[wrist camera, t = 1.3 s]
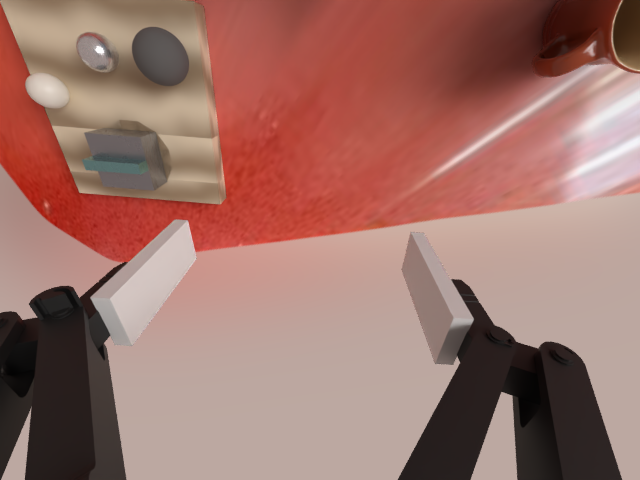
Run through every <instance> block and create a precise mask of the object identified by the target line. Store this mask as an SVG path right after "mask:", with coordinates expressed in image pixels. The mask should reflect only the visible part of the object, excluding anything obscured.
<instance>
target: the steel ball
mask: <svg viewBox="0 0 640 480" xmlns="http://www.w3.org/2000/svg"><path fill="white" fill-rule="evenodd" d="M76 50H77V53H78V55H79V57H80V58H81V60H82V61H83V62H84V63H85V64H86V65H87V66H88V67H90V68H91V69H93V70H95V71H98V72H103V73H107V72H111V71H113V70H115V69H116V68H117V66H118V64H119V54H118V51H117V49H116V47H115V46H114V45H113V43H112V42H111V41H110V40H109V39H108V38H106V37H105V36H103V35H101V34H99V33H96V32H84V33H82V34H80V35H79V36H78V38H77V40H76Z"/></svg>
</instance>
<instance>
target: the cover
mask: <svg viewBox="0 0 640 480" xmlns="http://www.w3.org/2000/svg"><path fill="white" fill-rule="evenodd" d="M84 134H85V137H86V140H87V143H88V145H89V148H90V151H91V154H92V156H91V157H88V158H85V159H82V162H83V164H84V167H85V169H86V170H91V171H98V173H99V176H100V178H101V181H102V184H103V186H104V187H116V188H128V189H140V190H153V191H154V190H156V189H157V188H159V187H160V186H162V185H163V184H165V183H166V182H167V178H166V174H165V170H164V165H163V161H162V157H161V152H160V148H159V144H158V139H157V135H156V132H150V131H137V130H125V129H113V128H101V129H97V130H93V131H89V132H85V133H84Z"/></svg>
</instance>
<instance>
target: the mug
mask: <svg viewBox="0 0 640 480" xmlns="http://www.w3.org/2000/svg"><path fill="white" fill-rule="evenodd" d="M543 47H544V48H543V49H542V50H541V51H540V52H539V53H538V54H537V55H536V56H535V57H534V58H533V60H532V68H533V72H534V73H535V74H536V75H537V76H539V77H557V76H560V75H563V74H566V73H569V72H571V71H573V70H575V69H577V68H579V67H581V66H583V65H599V64H613V65H615V66H617V67H619V68H621V69H623V70H625V71H628V72H631V73H638V74H640V0H559V1H558V2H557V3H556V5H555V6H554V8H553V9H552V11H551V12H550V14H549V16H548V18H547V21H546V23H545V26H544V29H543Z"/></svg>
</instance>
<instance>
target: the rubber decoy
mask: <svg viewBox="0 0 640 480" xmlns="http://www.w3.org/2000/svg"><path fill="white" fill-rule="evenodd" d="M132 54H133V58H134V61H135V63H136V65H137V67H138V69H139V70H140V71H141V72H142V73H143V75H144V76H145V77H147V78H148V79H149V80H151V81H152V82H154V83H156V84H159V85H162V86H174V85H177V84H179V83H181V82H182V81H183V80H184V79H185V78H186V76H187V74H188V71H189V59H188V55H187V52H186V50H185V48H184V46H183V45H182V43H181V42H180V41H179V39H178V38H177V37H176V36H174V35H173V34H172V33H170V32H169V31H167V30H165V29H162V28H159V27H147V28H144V29H142V30H140V31H139V32H138V33H137V34H136V35H135V37H134V39H133V42H132Z"/></svg>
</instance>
